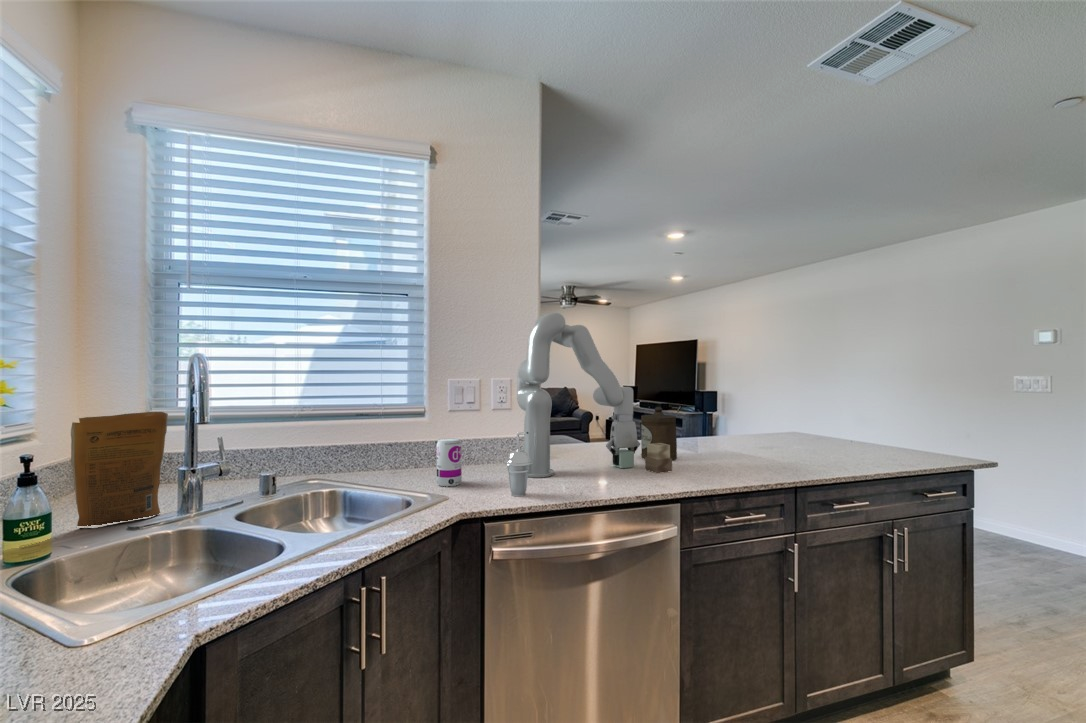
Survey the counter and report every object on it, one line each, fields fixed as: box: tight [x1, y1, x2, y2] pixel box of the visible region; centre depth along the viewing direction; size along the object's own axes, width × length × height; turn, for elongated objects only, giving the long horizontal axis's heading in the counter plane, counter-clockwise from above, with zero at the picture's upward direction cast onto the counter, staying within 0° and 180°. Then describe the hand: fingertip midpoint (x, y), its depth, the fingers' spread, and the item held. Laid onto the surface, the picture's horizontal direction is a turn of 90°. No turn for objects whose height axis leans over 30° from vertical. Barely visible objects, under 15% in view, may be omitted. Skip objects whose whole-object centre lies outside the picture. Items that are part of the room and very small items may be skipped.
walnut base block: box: [644, 457, 673, 474], centre depth 185 cm, size 7×7×5 cm
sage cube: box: [611, 448, 635, 469], centre depth 192 cm, size 6×6×6 cm
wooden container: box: [640, 406, 678, 461], centre depth 210 cm, size 15×15×22 cm
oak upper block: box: [647, 443, 670, 460], centre depth 185 cm, size 6×6×5 cm
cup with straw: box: [504, 431, 532, 497], centre depth 151 cm, size 8×9×20 cm
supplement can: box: [436, 437, 463, 488], centre depth 165 cm, size 8×8×15 cm
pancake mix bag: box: [70, 411, 169, 527], centre depth 125 cm, size 7×19×28 cm, turn 137°
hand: (623, 463), depth 192 cm, fingers closed on sage cube, 6 cm apart
